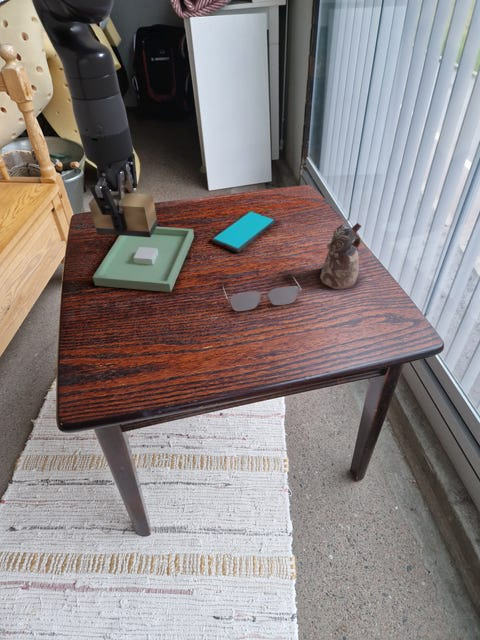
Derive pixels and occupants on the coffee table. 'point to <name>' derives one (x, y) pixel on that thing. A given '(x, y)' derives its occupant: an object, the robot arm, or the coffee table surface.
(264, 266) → the coffee table surface
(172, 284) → the tray
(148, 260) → the chalk lump
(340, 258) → the figurine
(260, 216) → the smartphone
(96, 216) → the eraser
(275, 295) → the eyeglasses
